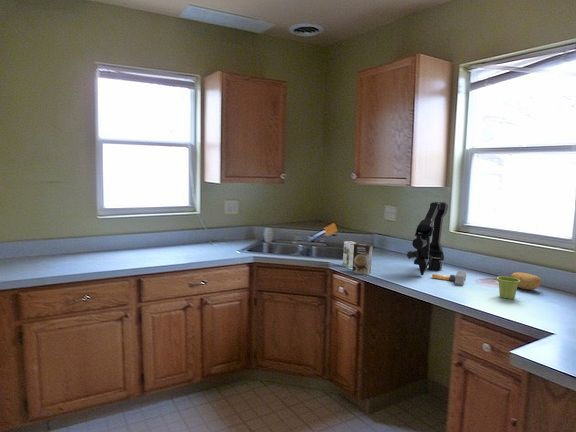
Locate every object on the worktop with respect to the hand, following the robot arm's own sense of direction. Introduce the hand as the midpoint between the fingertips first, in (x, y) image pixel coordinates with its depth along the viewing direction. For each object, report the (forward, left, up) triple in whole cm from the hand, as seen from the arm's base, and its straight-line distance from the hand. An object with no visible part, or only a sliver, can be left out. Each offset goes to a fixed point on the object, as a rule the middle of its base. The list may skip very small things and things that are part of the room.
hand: (422, 274), depth 224 cm
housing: (+19, +5, -1) cm, 20 cm away
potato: (+46, +17, -1) cm, 49 cm away
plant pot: (+44, -5, -1) cm, 44 cm away
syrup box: (-40, -11, -1) cm, 42 cm away
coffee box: (-26, -19, -1) cm, 32 cm away
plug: (+12, +3, -1) cm, 12 cm away
